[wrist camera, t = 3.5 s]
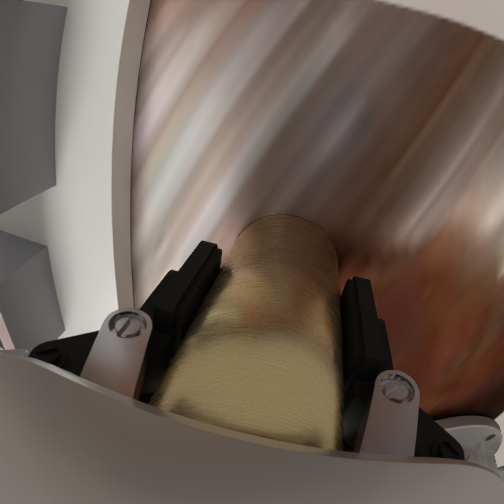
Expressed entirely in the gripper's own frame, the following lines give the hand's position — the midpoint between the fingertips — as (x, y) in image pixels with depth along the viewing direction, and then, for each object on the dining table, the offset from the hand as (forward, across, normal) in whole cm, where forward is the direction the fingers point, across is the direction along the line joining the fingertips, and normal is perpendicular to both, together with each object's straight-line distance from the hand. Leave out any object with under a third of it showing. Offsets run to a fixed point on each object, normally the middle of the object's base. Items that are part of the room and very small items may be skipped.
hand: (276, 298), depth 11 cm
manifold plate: (+2, +14, -1) cm, 14 cm away
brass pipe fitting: (+2, 0, 0) cm, 2 cm away
